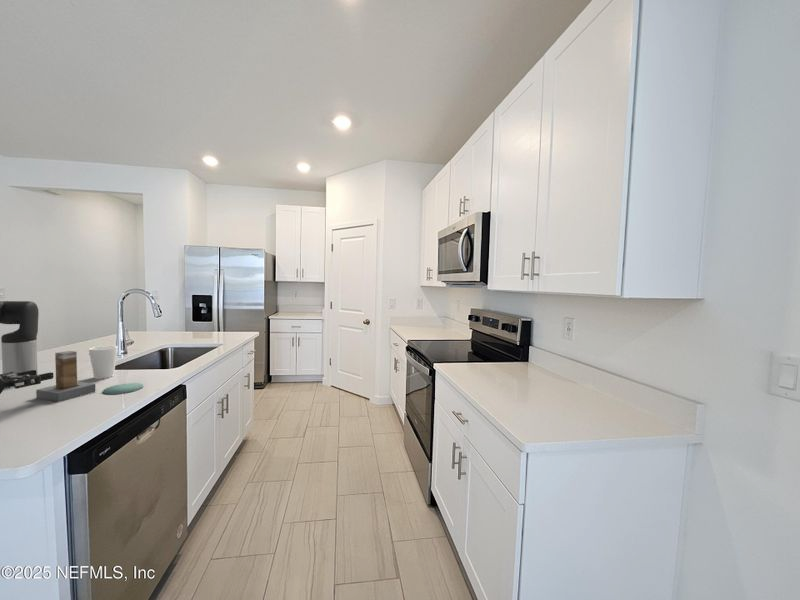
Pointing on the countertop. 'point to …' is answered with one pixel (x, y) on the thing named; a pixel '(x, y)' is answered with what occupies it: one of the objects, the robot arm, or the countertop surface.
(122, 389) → the mat
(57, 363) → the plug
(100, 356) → the foam cup
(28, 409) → the countertop surface
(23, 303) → the robot arm
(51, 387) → the socket block
